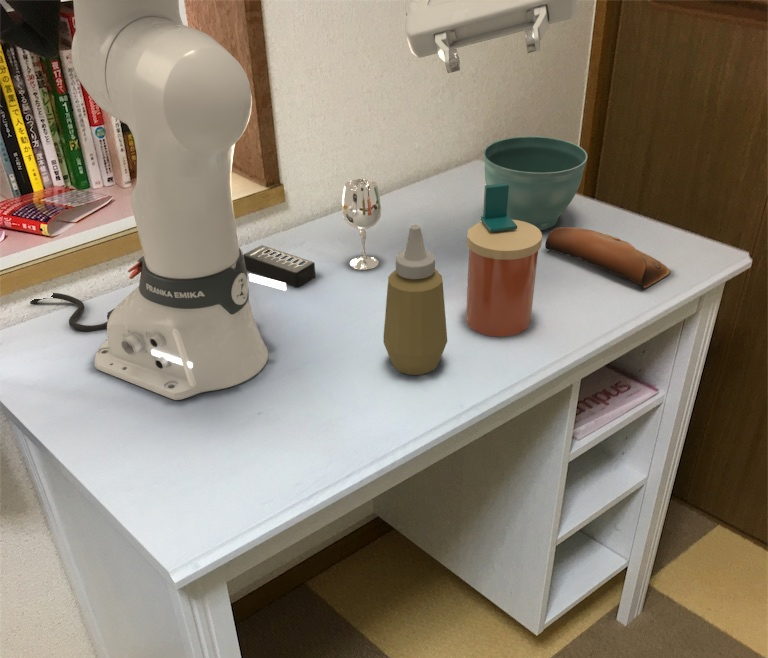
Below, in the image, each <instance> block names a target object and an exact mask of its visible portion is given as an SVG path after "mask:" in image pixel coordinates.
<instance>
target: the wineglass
mask: <svg viewBox="0 0 768 658" xmlns="http://www.w3.org/2000/svg"><path fill="white" fill-rule="evenodd" d="M341 199H342V201H341V211H342V216H343V219H344V221H345V222H346V224H347V225H348V226H349V227H351V228H353V229H356V230H359V239H360V241H361V256H357V257H354V258H352V259H351V260H350V262H349V266H350V267H351V268H352V269H355V270H358V271H366V270H367V271H369V270H371V269H375V268H377V267H378V266H379V265H380V262H379V260H378V259H377V258H376V257H374V256H368V255H367V253H366V239H367V232H366V231H367V230H366V229H370V228H373V227H374V226H375V225H377V223H378V222H379V220H380V219H381V216H382V199H381V195H380V191H379V187H378V183H377V182H376V181H375V180H373V179H369V178H356V179H355V178H354V179H351V180H349V181H347V182H345V184H344V187H343V192H342V198H341Z"/></svg>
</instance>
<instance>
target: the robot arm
mask: <svg viewBox="0 0 768 658" xmlns="http://www.w3.org/2000/svg"><path fill="white" fill-rule="evenodd" d="M72 1H73V14H74V16H73V17H74V26H75V31H74V34H73V38H72V42H71V61H72V67H73V69H74V72H75V75H76V77H77V79H78V81H79V82H80V84H81V86H82V87H83V89H84V90H85V91H86V92H87V94H88V96H89V97H90V98H91V99H92V100H93V102H94V103H95V104H96V105H97V106H98V107H99V108H100V109H101V110H102V111H104V113H106V114H107V115H109V116H111V117H113V118H114V119H116V120H118V121H119V122H121V123H123V124H125V125H127V127H128V129H129V131H130V132H131V135H132V137H133V140H134V145H135V151H136V183H135V186H134V187H133V189H132V190H131V194H130V206H131V209H132V213H133V218H134V221H135V226H136V230H137V234H138V238H139V242H140V247H141V251H142V254H143V256H141V257H140V258H139V259H138V260H137V261H138V262H137V263H136V264H134V265H133V266H132V267H130V268H129V269H128V270H127V273H131V274H130V275H129V277H128V278H129V279H130V280H132V279H134V278H135V277H136V276H138V275H139V274H140V276H139V283H138V286H137V287H136V288H134V290H132V291H131V292H130V293H129V294H128V295H127V296H126V297H125V298H124V299H122V300H121V301H120V302H119V304H118V305H116V307H114V308H113V309H111V310H109V311H108V312H107V315H106V319H107V321H106V322H104V323H101V324H95V325H86V324H80V323H77V322H76V320H77V319H78V318H79V317H80V316H81V314H82V313H83V312H84V310H85V305H84V302H83V301H82V300H80V299H79V298H76V297H74V296H71V295H68V294H64V293H59V292H52V293H53V295H52V296H51V297H53V298H52V299H56V300H63V301H66V302H70V303H72V304H74V305H76V306H77V308H76V310H75V311H74V312H73V313H72V314H71V315H70V317H69V319H68V325H69V326H70V327H71V328H72V329H75V330H77V331H82V332H96V331H102V330H103V331H104V330H106V335H107V337H106V340H105V341H104V342H103V343H102V344H101V345H100V347H99V348H98V350H97V352H96V354H95V356H94V367H95V369H96V370H98V371H100V372H102V373H105V374H108V375H109V376H113V377H115V378H117V379H120V380H123V381H126V382H128V383H131V384H133V385H136V386H138V387H141V388H143V389H146V390H148V391H150V392H153V393H156V394H158V395H161V396H163V397H166V398H167V399H171V400H174V401H180V400H185V399H187V398H191V397H194V396H196V395H198V394H202V393H206V392H212V391H219V390H223V389H227V388H231V387H234V386H238V385H240V384H242V383H244V382H246V381H248V380H250V379H252V378H254V377H255V376H256V375H257V374H258V373H260V372H261V371H262V370H263V368H264V367H265V366H266V365H267V363H268V359H269V349H268V348H267V346H266V344H265V342H264V340H263V338H262V335H261V332H260V330H259V328H258V325H257V323H256V319H255V317H254V312H253V310H252V306H251V302H250V289H249V282H251V283H256V284H259V285H263V286H267V287H271V288H274V289H277V290H281V291H287V284H286V283H284V282H280V281H276V280H273V279H270V278H267V277H265V276H262V275H259V274H255V273H248V272H247V271H248V270H246V265H245V260H244V251H243V249H242V248H241V247H240V244H239V239H238V232H237V225H236V218H235V217H236V216H235V211H234V204H233V197H232V196H233V193H232V169H233V161H234V160H233V158H234V152H235V146H236V143H237V142H238V141H239V140H240V139H241V137H242V136H243V134H244V133H245V131H246V130H247V127H248V124H249V122H250V118H251V114H252V107H253V96H252V88H251V83H250V81H249V77H248V76H247V73H246V72H245V70H244V68H243V66H242V65H241V64H240V62H239V61H238V60H237V59H236V57H234V56H233V55H232V54H231V53H230V52H229V51H228V50H227V49H226V48H225V47H224V46H223V45H221V43H219V42H218V41H217V40H216V39H215V38H213V37H212V36H210V35H209V34H208V33H205V32H203V31H201V30H199V29H196V28H194V27H191V26H188V25H186V24H184V23H183V20H182V18H181V13H180V2H179V1H180V0H72ZM578 11H579V0H406V1H405V16H406V20H405V21H406V22H405V36H406V40H407V44H408V46H409V49H410V52H411V54H413V55H414V56H415V57H417V58H425V57H428V56H432V55H437V54H438V57H439V58H440V59H441V60H442V62H443V63H444V65H445V69H446V72H447V74H451V73H455V72H458V71H461V65H460V64H461V61H460V60H461V59H460V57H459V52H458V49H459V48H463V47H467V46H471V45H474V44H479V43H482V42H483V43H484V42H486V41H491V40H494V39H497V38H502V37H505V36H510V35H513V34H517V33H521V32H524V35H525V46H526V53H527V54H530V53H534V52H539V51H541V40H543V37H544V36H545V35H546V33H547V31H548V30H549V25H552V24H555V23H559V22H564V21H567V20H571V19H573V17H574V16H575V15H576V14H577V12H578ZM31 300H32V299H31ZM31 300H30V302H29V304H30V305H36V304H37V303H38V302H40V301H41V300H47V298H43V299H34V300H32V301H31Z"/></svg>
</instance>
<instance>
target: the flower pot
mask: <svg viewBox="0 0 768 658" xmlns="http://www.w3.org/2000/svg"><path fill="white" fill-rule="evenodd" d="M482 153H483V162H484V180H485V181H484V182H485V186H487V185H495V184H503V183H507V184H508V185H509V192H508V205H507V214H508V215H509V217H510V218H511V219H513V220H519V221H523V222H527V223H530V224H532V225H534V226H536V227H537V228H538V229H539V230H540V231H545V230H548V229H550V228H553V227H554V226H555V225H556V224H557V222H558V220H559V217H560V216H561V214H563V212H565V210H566V209H567V208H568V206H570V204H571V202H572V201H573V200H574V197H575V196H576V194H577V192H578V190H579V188H580V185H581V182H582V179H583V176H584V172H585V171H584V170H585V167H586V165H587V162H588V153H587V151H586V150H585V149H584V148H582V146H580V145H578V144H577V143H574V142H571V141H568V140H565V139H561V138H557V137H548V136H540V135H539V136H538V135H537V136H536V135H531V136H530V135H527V136H526V135H525V136H513V137H506V138H502V139H499V140H495V141H493V142H491V143H489V144H488V145H487V146H486V147H485V148H484V149H483V152H482Z"/></svg>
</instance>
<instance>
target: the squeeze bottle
mask: <svg viewBox="0 0 768 658" xmlns="http://www.w3.org/2000/svg"><path fill="white" fill-rule="evenodd" d="M387 277H388V278H387V287H386V288H387V289H386V303H385V312H384V313H385V315H384V326H383V345H384V347H385V350H386V352H387V354H388V357H389V360H390V362H391V364H392V366H393V367H394V369H395V370H396V371H398V372H399V373H402V374H406V375H409V376H414V375H415V376H417V375H419V376H420V375H424V374H428V373H431V372H432V371H434V370H436V368H437V367H438V365H439V364H440V360H441V358H442V355H443V354H444V351H445V348H446V346H447V343H448V331H447V319H446V307H445V293H444V281H443V275H442V274H441V273H440V272H439V271H438V270H437V269H436V256H435V254H433V252H431V251H430V250H429V251H428V250H427V249H426V247H425V242H424V236H423V232H422V227H421V225H420V224H412V225H410V226H409V231H408V236H407V240H406V244H405V249H404V250H403V251H401V252H398V253H397V255H396V256H395V270H393V271H392V272H391V273H390V274H389V275H388V276H387Z"/></svg>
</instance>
